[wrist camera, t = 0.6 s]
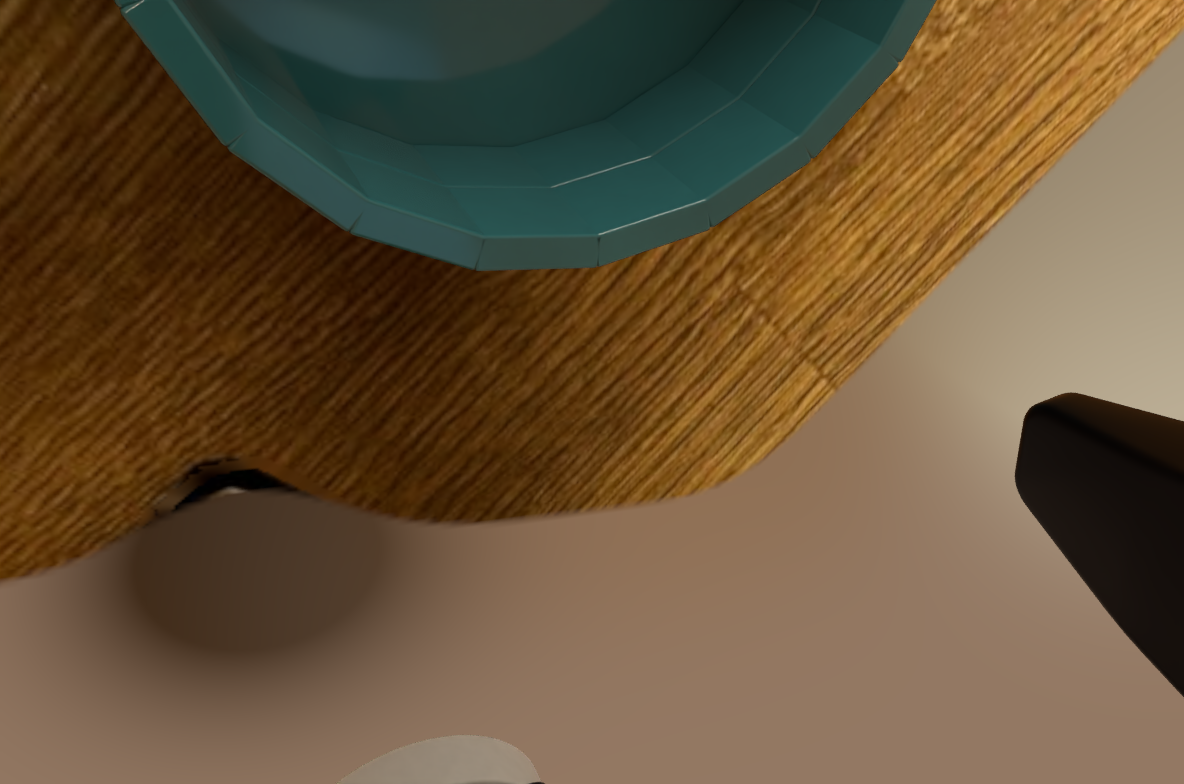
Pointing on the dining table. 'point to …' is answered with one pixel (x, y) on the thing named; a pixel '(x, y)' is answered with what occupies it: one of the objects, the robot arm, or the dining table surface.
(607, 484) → the dining table surface
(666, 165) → the pan
